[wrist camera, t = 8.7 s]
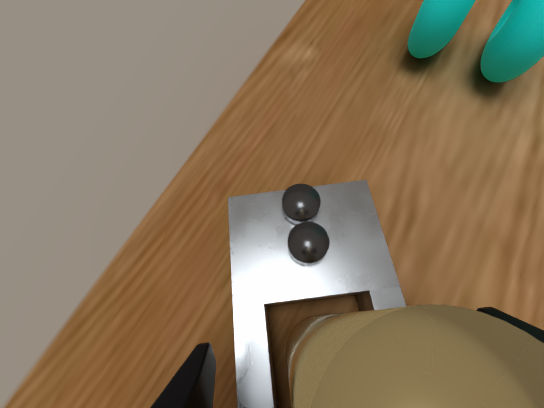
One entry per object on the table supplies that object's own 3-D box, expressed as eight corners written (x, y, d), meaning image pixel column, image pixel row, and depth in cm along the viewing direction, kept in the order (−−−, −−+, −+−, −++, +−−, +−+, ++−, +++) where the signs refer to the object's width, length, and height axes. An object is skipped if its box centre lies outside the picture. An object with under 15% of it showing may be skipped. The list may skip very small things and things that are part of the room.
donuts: (423, 20, 29) (486, -117, 20) (519, 47, 26) (643, -98, 17) (390, 73, 26) (447, -62, 16) (496, 110, 23) (634, -28, 14)
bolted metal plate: (512, 750, 10) (646, 1005, 6) (269, 781, 10) (259, 1055, 6) (355, 199, 20) (370, 172, 16) (235, 214, 20) (224, 190, 16)
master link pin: (360, 392, 15) (860, 860, 2) (289, 396, 15) (327, 875, 2) (347, 314, 16) (567, 295, 4) (283, 318, 17) (285, 313, 4)
